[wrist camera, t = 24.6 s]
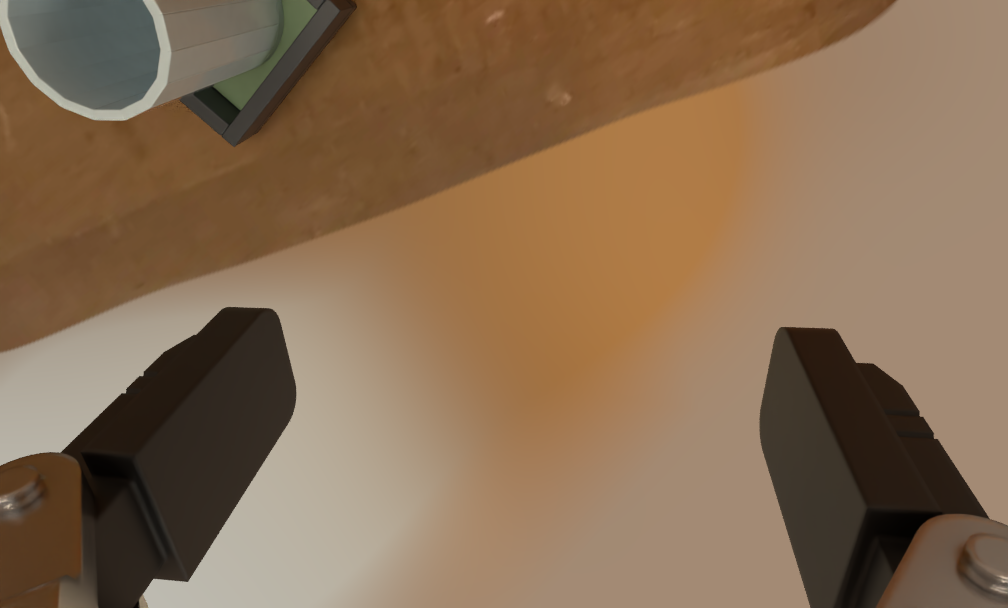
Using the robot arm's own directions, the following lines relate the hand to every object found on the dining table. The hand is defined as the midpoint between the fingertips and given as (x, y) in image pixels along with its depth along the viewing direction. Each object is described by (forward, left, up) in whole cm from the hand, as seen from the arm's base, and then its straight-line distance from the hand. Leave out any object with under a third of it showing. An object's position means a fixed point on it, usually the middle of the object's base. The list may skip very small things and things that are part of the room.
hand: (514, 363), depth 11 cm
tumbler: (+14, +9, -26) cm, 30 cm away
